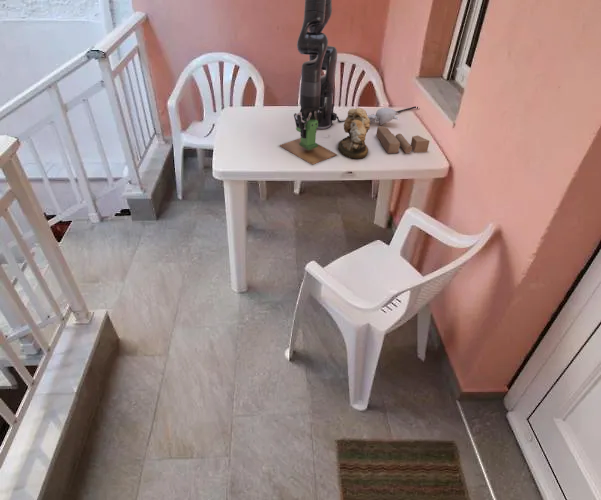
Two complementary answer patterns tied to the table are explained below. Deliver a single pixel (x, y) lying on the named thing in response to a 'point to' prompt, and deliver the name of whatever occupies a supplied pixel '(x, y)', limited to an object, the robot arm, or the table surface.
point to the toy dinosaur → (309, 135)
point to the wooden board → (308, 152)
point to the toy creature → (383, 116)
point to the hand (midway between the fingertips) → (308, 136)
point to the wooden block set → (400, 142)
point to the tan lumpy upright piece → (355, 134)
